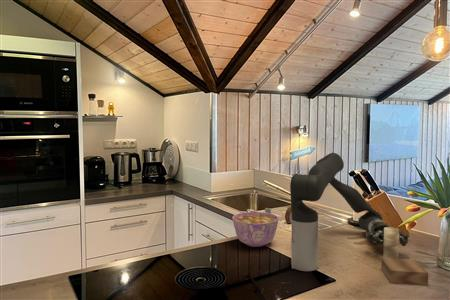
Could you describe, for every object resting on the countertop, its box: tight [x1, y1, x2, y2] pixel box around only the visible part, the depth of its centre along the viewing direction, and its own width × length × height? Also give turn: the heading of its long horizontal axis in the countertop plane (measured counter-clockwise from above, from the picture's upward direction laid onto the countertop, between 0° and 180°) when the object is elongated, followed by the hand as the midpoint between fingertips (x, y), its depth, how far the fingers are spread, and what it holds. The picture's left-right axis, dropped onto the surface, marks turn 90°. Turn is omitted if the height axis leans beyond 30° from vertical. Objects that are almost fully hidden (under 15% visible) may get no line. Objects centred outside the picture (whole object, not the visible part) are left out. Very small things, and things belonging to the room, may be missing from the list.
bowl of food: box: [231, 211, 280, 248], centre depth 150 cm, size 20×20×12 cm
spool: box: [382, 226, 400, 259], centre depth 129 cm, size 5×5×12 cm
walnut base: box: [381, 257, 429, 286], centre depth 116 cm, size 11×11×4 cm
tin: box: [284, 206, 292, 224], centre depth 184 cm, size 15×3×8 cm, turn 141°
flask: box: [264, 207, 272, 214], centre depth 172 cm, size 7×7×10 cm
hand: (391, 243), depth 128 cm, fingers open, 8 cm apart
